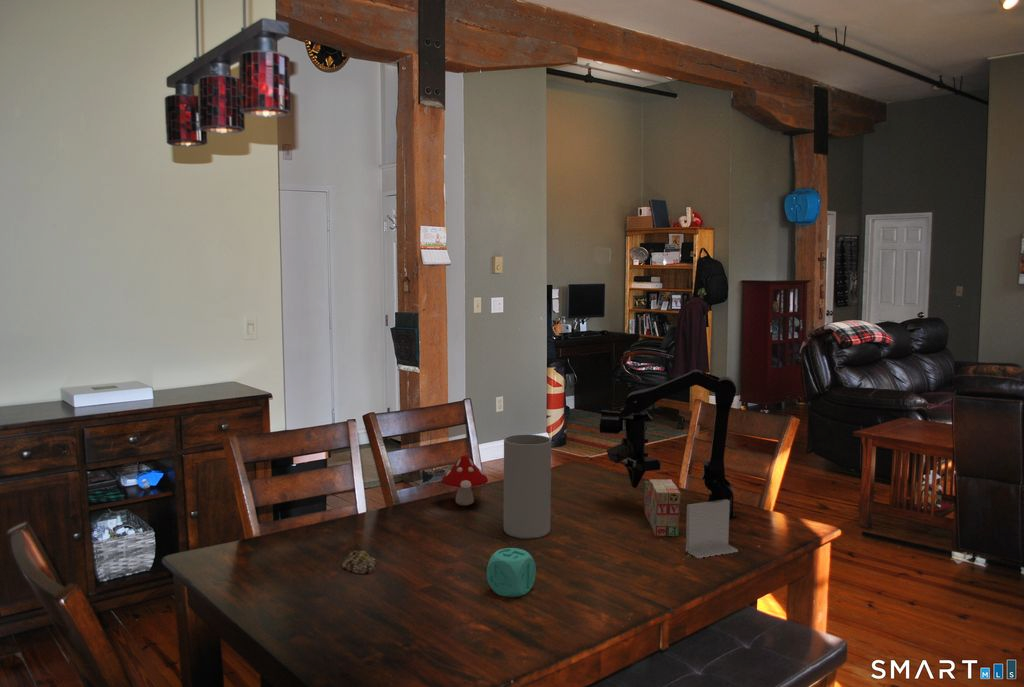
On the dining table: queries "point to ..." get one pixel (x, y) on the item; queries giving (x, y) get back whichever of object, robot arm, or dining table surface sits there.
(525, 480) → the cylinder vase
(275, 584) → the dining table surface
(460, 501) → the decorative mushroom
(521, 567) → the decorative dice
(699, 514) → the bookend
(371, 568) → the mineral rock
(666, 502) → the stack of blocks
